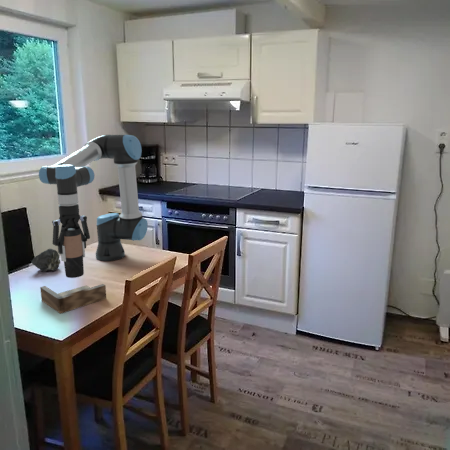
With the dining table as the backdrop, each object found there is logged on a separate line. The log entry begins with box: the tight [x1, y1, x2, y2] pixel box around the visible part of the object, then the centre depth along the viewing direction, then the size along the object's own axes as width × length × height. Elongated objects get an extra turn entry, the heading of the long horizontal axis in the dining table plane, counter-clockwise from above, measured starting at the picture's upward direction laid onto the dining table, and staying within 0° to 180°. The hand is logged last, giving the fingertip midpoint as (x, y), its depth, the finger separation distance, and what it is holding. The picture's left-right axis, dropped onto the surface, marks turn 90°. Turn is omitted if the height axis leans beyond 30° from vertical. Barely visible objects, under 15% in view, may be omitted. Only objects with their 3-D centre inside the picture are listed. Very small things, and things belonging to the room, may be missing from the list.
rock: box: [31, 248, 61, 272], centre depth 214 cm, size 12×10×10 cm
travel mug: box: [60, 227, 85, 279], centre depth 179 cm, size 8×8×20 cm
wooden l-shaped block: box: [39, 283, 107, 314], centre depth 181 cm, size 20×17×6 cm
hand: (73, 258), depth 180 cm, fingers closed on travel mug, 8 cm apart
